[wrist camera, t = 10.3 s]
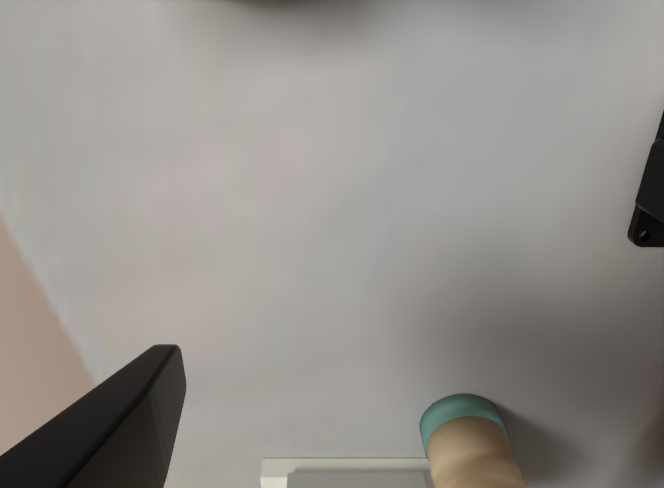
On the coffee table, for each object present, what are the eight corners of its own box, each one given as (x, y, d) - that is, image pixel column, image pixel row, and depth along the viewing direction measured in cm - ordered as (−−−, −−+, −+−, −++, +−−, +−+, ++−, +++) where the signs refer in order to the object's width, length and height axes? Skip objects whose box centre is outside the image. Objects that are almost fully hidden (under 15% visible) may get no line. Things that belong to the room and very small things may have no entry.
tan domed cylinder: (505, 393, 25) (566, 525, 18) (493, 452, 26) (544, 590, 20) (423, 393, 25) (455, 525, 18) (416, 452, 26) (443, 591, 20)
